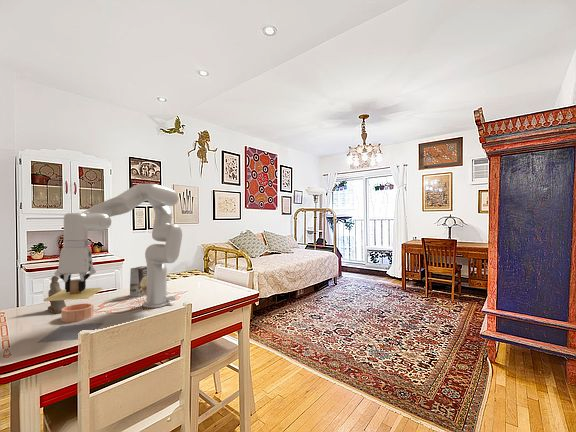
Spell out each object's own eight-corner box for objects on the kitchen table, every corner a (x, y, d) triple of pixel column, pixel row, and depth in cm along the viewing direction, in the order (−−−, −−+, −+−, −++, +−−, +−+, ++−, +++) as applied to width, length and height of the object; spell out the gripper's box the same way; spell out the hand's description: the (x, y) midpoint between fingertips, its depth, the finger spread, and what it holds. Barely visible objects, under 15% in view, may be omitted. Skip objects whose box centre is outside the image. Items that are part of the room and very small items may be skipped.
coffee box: (139, 297, 159) (140, 269, 159) (129, 296, 160) (129, 268, 160) (149, 293, 168) (150, 266, 168) (140, 292, 169) (140, 266, 169)
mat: (104, 323, 119) (104, 322, 119) (88, 339, 103) (88, 338, 103) (60, 327, 114) (60, 325, 114) (36, 344, 99) (36, 342, 99)
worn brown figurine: (47, 315, 135) (44, 277, 138) (61, 311, 140) (58, 275, 142) (54, 315, 129) (51, 275, 131) (68, 311, 133) (66, 273, 135)
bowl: (96, 313, 131) (97, 302, 131) (86, 321, 121) (86, 310, 121) (69, 315, 128) (69, 304, 129) (55, 323, 118) (56, 312, 118)
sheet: (102, 289, 118) (102, 275, 118) (88, 298, 104) (88, 283, 104) (63, 291, 114) (63, 277, 114) (43, 301, 101) (43, 285, 101)
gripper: (103, 243, 115) (103, 287, 115) (56, 243, 111) (55, 289, 111) (96, 245, 108) (95, 292, 108) (45, 245, 103) (44, 295, 103)
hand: (75, 290), depth 109 cm, fingers closed on sheet, 3 cm apart
